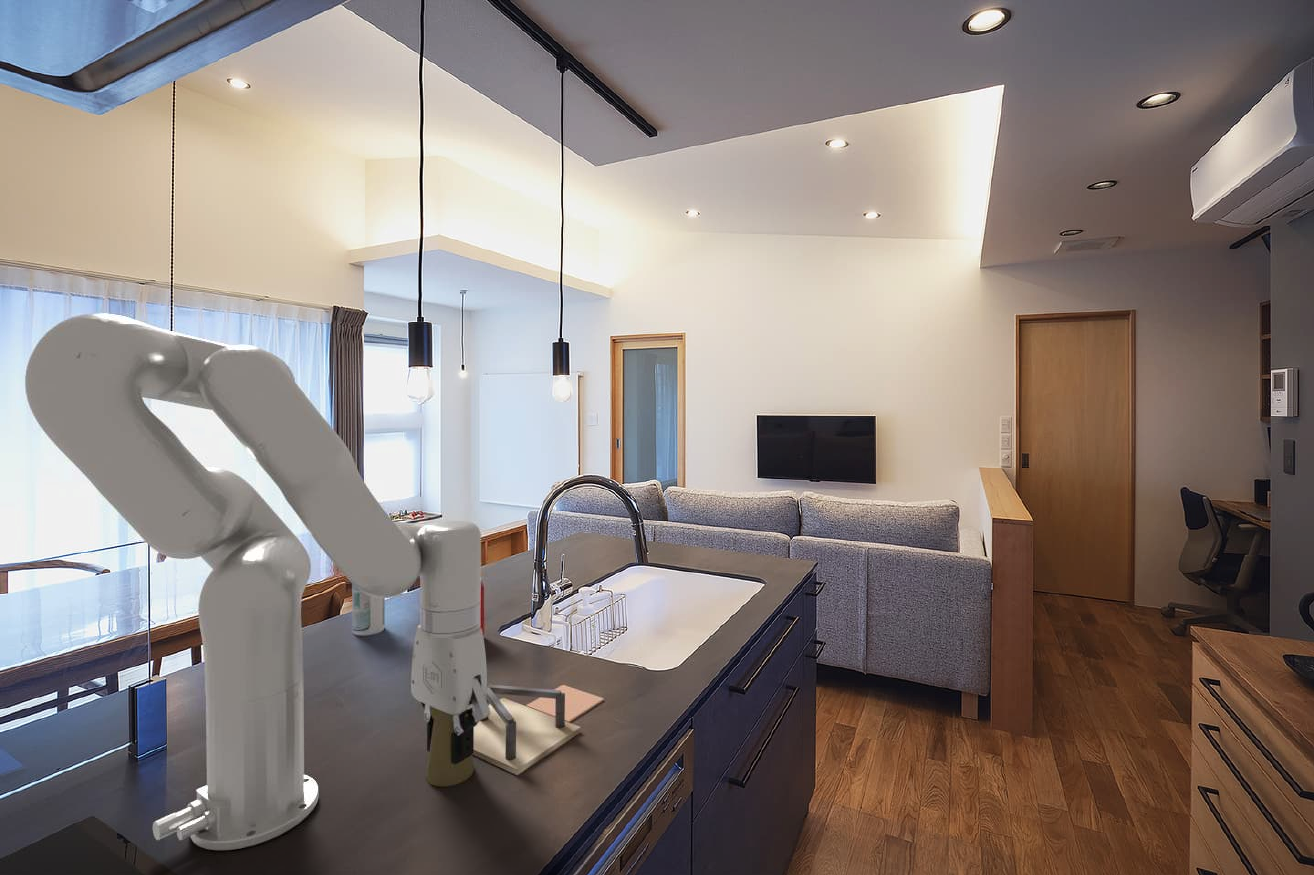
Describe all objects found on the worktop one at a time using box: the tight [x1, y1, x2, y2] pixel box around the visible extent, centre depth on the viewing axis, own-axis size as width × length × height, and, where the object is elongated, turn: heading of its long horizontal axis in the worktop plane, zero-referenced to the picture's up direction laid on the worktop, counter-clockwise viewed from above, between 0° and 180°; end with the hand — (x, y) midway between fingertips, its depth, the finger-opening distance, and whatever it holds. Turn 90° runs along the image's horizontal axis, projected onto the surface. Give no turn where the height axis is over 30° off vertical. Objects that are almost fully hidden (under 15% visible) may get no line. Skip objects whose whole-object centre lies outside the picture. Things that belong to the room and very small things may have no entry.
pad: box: [525, 684, 605, 723], centre depth 99 cm, size 9×9×1 cm
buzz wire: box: [472, 683, 582, 776], centre depth 89 cm, size 13×16×6 cm
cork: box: [425, 706, 475, 787], centre depth 80 cm, size 6×6×11 cm
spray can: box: [351, 583, 386, 636], centre depth 130 cm, size 6×6×20 cm
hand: (450, 751), depth 80 cm, fingers closed on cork, 4 cm apart
